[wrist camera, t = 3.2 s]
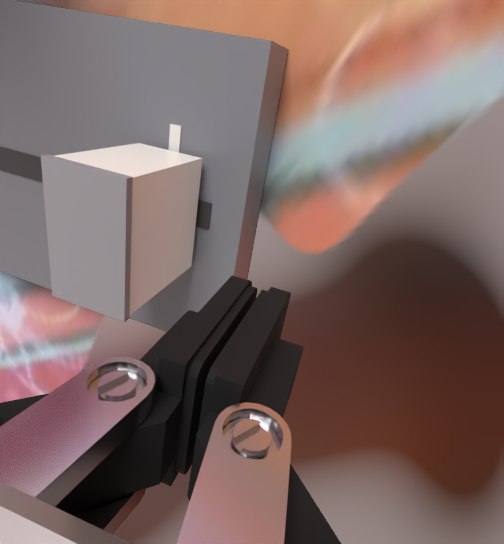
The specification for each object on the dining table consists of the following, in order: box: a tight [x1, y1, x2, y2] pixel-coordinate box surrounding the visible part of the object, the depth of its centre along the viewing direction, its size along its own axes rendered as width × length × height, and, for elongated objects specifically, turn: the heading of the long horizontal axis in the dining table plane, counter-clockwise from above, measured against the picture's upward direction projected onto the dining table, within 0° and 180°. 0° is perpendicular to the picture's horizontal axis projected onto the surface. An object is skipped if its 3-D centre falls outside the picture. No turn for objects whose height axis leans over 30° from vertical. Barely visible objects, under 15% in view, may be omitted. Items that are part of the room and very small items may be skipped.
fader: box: [41, 143, 202, 322], centre depth 15 cm, size 3×5×5 cm, turn 170°
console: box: [0, 0, 288, 332], centre depth 20 cm, size 23×14×3 cm, turn 80°
